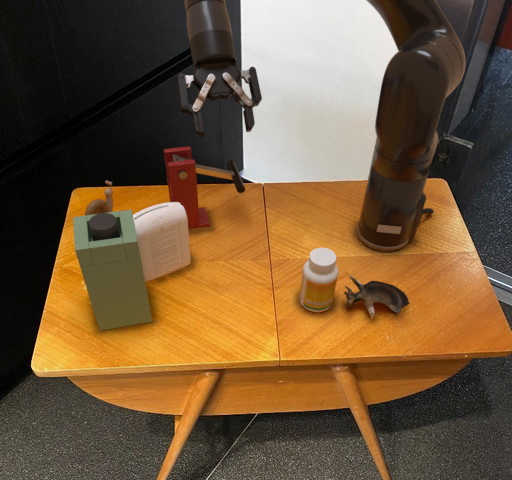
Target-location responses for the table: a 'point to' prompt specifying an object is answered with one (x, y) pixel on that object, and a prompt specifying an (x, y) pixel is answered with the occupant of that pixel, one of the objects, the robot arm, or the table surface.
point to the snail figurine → (101, 203)
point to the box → (113, 273)
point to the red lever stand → (185, 186)
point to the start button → (104, 227)
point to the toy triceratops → (377, 295)
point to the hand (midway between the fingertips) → (226, 133)
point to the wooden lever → (217, 172)
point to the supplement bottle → (319, 280)
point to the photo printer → (162, 239)
